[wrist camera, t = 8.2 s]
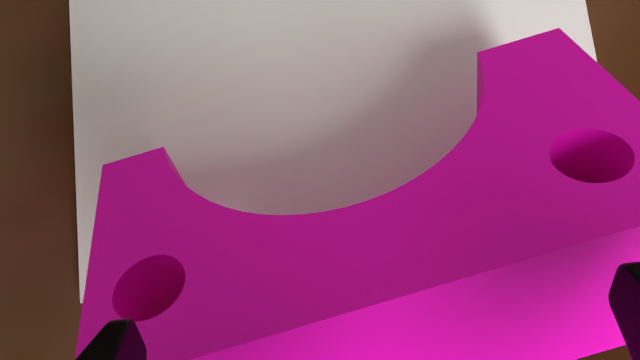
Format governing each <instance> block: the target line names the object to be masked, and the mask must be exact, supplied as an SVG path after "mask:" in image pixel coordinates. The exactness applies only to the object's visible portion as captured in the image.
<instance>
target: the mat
mask: <svg viewBox="0 0 640 360" xmlns="http://www.w3.org/2000/svg"><path fill="white" fill-rule="evenodd" d="M69 11H70V39H71V66H72V94H73V121H74V149H75V176H76V204H77V231H78V259H79V287H80V303H83V298H84V291H85V284H86V277H87V270H88V263H89V256H90V249H91V242H92V235H93V228H94V221H95V214H96V207H97V200H98V193H99V186H100V179H101V172H102V165H104V164H108V163H111V162H114V161H117V160H121V159H124V158H127V157H131V156H134V155H137V154H141V153H144V152H147V151H151V150H154V149H157V148H161V147H164V148H165V150H166V151H167V153H168V155H169V157H170V158H171V160H172V162H173V163H174V165H175V167H176V169H177V170H178V172H179V174H180V176H181V177H182V179H183V181H184V182H185V184H186V186H187V187H188V188H190V189H191V190H192V191H194V192H195V193H197V194H198V195H200V196H202V197H204V198H205V199H207V200H209V201H211V202H214V203H216V204H219V205H222V206H224V207H227V208H231V209H235V210H239V211H243V212H250V213H257V214H268V215H298V214H309V213H317V212H324V211H329V210H334V209H338V208H343V207H347V206H351V205H354V204H357V203H361V202H364V201H367V200H370V199H372V198H375V197H377V196H380V195H383V194H385V193H388V192H390V191H392V190H394V189H396V188H398V187H400V186H402V185H404V184H406V183H408V182H409V181H411V180H413V179H414V178H416V177H417V176H419V175H421V174H422V173H424V172H425V171H427V170H428V169H429V168H431V167H432V166H433V165H435V164H436V163H438V162H439V161H440V160H441V159H442V158H443V157H444V156H446V155H447V154H448V153H449V152H450V151H451V150H452V149H453V148H454V147H455V146H456V145H457V144H458V142H459V141H460V140H461V139H462V138H463V137H464V136H465V134H466V133H467V131H468V130H469V128H470V127H471V125H472V124H473V122H474V120H475V118H476V116H477V52H480V51H483V50H487V49H490V48H493V47H497V46H500V45H503V44H507V43H510V42H513V41H517V40H520V39H523V38H527V37H530V36H533V35H537V34H540V33H543V32H547V31H550V30H553V29H557V28H560V29H561V30H562V31H563V32H564V33H565V34H566V35H568V36H569V37H570V38H571V39H572V40H573V41H574V42H575V43H576V44H577V45H579V46H580V47H581V48H582V49H583V50H584V51H585V52H586V53H587V54H588V55H589V56H591V57H592V58H593V59H594V60H595V61H596V62H597V59H596V54H595V49H594V43H593V38H592V33H591V28H590V23H589V18H588V13H587V7H586V2H585V0H69Z"/></svg>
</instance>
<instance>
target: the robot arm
mask: <svg viewBox="0 0 640 360" xmlns="http://www.w3.org/2000/svg"><path fill="white" fill-rule="evenodd" d="M608 299H609V304H610V307H611V310H612V312H613V314H614V317H615V319H616V322H617V324H618V326H619V329H620V331H621V334H622V336H623V338H624V341H625V343H626V345H627V348H628V350H629V353H630V355H631V357H632V360H640V262H630V263H623V264H621V265H619V266H618V268H617V270H616V273H615V276H614V279H613V282H612V285H611V287H610V290H609V295H608ZM75 360H147V351H146V346H145V343H144V341H143V339H142V336H141V334H140V332H139V330H138V328H137V326H136V323H135V322H134V320H132V319H131V318H125V319H116V320H111V321H109V322H108V323H106V324H105V326H104V327H103V328H102V329H101V330H100V331H99V333H98V334H97V335H96V336H95V337H94V338H93V339H92V341H91V342H90V343H89V344H88V345H87V346H86V348H85V349H84V350H83V351H82V352H81V353H80V354H79V356H78V357H77V358H76V359H75Z"/></svg>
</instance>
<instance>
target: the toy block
mask: <svg viewBox="0 0 640 360" xmlns="http://www.w3.org/2000/svg"><path fill="white" fill-rule="evenodd" d="M630 262H640V101H639V100H638V99H636V98H635V97H634V96H633V95H632V94H631V93H630V92H629V91H628V90H627V89H625V88H624V87H623V86H622V85H621V84H620V83H619V82H618V81H617V80H616V79H615V78H613V77H612V76H611V75H610V74H609V73H608V72H607V71H606V70H605V69H604V68H603V67H601V66H600V65H599V64H598V63H597V62H596V61H595V60H594V59H593V58H592V57H591V56H589V55H588V54H587V53H586V52H585V51H584V50H583V49H582V48H581V47H580V46H579V45H577V44H576V43H575V42H574V41H573V40H572V39H571V38H570V37H569V36H568V35H566V34H565V33H564V32H563V31H562V30H561V29H560V28H557V29H553V30H550V31H547V32H543V33H540V34H537V35H533V36H530V37H527V38H523V39H520V40H517V41H513V42H510V43H507V44H503V45H500V46H497V47H493V48H490V49H487V50H483V51H480V52H477V116H476V118H475V120H474V122H473V124H472V125H471V127H470V128H469V130H468V131H467V133H466V134H465V136H464V137H463V138H462V139H461V140H460V141H459V142H458V144H457V145H456V146H455V147H454V148H453V149H452V150H451V151H450V152H449V153H448V154H447V155H446V156H444V157H443V158H442V159H441V160H440V161H439V162H438V163H436V164H435V165H433V166H432V167H431V168H429V169H428V170H427V171H425V172H424V173H422V174H421V175H419V176H417V177H416V178H414V179H413V180H411V181H409V182H408V183H406V184H404V185H402V186H400V187H398V188H396V189H394V190H392V191H390V192H388V193H385V194H383V195H380V196H377V197H375V198H372V199H370V200H367V201H364V202H361V203H357V204H354V205H351V206H347V207H343V208H338V209H334V210H329V211H324V212H317V213H309V214H298V215H268V214H257V213H250V212H243V211H239V210H235V209H231V208H227V207H224V206H222V205H219V204H216V203H214V202H211V201H209V200H207V199H205V198H204V197H202V196H200V195H198V194H197V193H195V192H194V191H192V190H191V189H190V188H188V187H187V186H186V184H185V182H184V181H183V179H182V177H181V176H180V174H179V172H178V170H177V169H176V167H175V165H174V163H173V162H172V160H171V158H170V157H169V155H168V153H167V151H166V150H165V148H164V147H161V148H157V149H154V150H151V151H147V152H144V153H141V154H137V155H134V156H131V157H127V158H124V159H121V160H117V161H114V162H111V163H108V164H104V165H102V172H101V179H100V186H99V193H98V200H97V207H96V214H95V221H94V228H93V235H92V242H91V249H90V256H89V263H88V270H87V277H86V284H85V291H84V298H83V305H82V312H81V319H80V326H79V333H78V340H77V347H76V354H75V359H76V358H77V357H78V356H79V354H80V353H81V352H82V351H83V350H84V349H85V348H86V346H87V345H88V344H89V343H90V342H91V341H92V339H93V338H94V337H95V336H96V335H97V334H98V333H99V331H100V330H101V329H102V328H103V327H104V326H105V324H106V323H108V322H109V321H111V320H116V319H125V318H131V319H132V320H134V322H135V323H136V326H137V328H138V330H139V332H140V334H141V336H142V339H143V341H144V343H145V346H146V351H147V360H575V359H579V358H582V357H586V356H589V355H592V354H596V353H599V352H603V351H606V350H609V349H613V348H616V347H619V346H623V345H626V343H625V341H624V338H623V336H622V334H621V331H620V329H619V326H618V324H617V322H616V319H615V317H614V314H613V312H612V310H611V307H610V304H609V299H608V295H609V290H610V287H611V285H612V282H613V279H614V276H615V273H616V270H617V268H618V266H619V265H621V264H623V263H630Z"/></svg>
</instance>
